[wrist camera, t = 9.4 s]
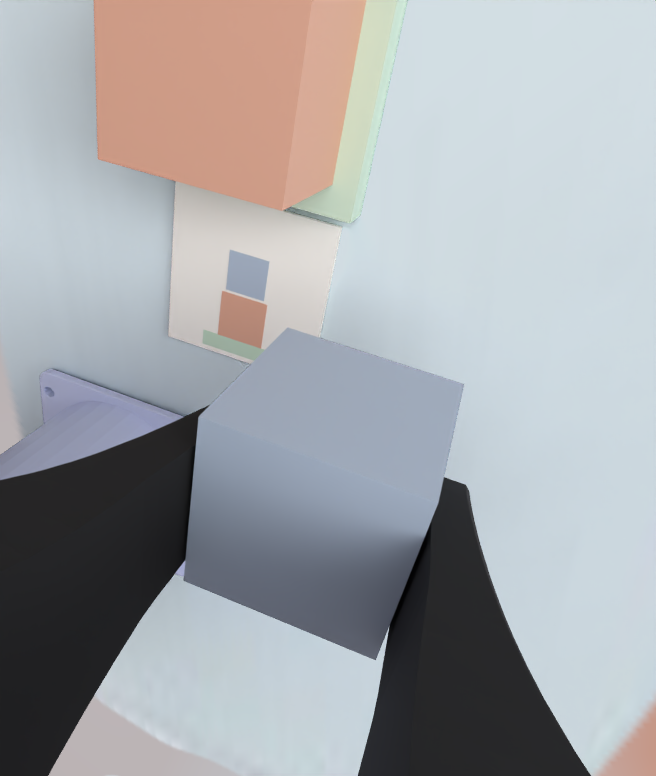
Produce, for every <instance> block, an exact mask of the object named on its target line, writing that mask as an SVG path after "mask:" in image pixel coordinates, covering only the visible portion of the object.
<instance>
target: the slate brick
mask: <svg viewBox="0 0 656 776" xmlns="http://www.w3.org/2000/svg"><path fill="white" fill-rule="evenodd" d="M463 387H464V384H462V383H459V382H456V381H452V380H449V379H446V378H443V377H440V376H437V375H434V374H431V373H428V372H424V371H421V370H418V369H415V368H412V367H409V366H406V365H403V364H400V363H397V362H393V361H390V360H387V359H384V358H381V357H378V356H375V355H372V354H369V353H366V352H362V351H359V350H356V349H353V348H350V347H347V346H344V345H341V344H338V343H334V342H331V341H328V340H325V339H322V338H319V337H316V336H313V335H310V334H307V333H303V332H300V331H297V330H294V329H291V328H288V327H287V328H286V329H285V330H284V331H283V332H282V333H281V334H280V335H279V336H278V337H277V338H276V339H275V340H274V341H273V342H272V343H271V344H270V345H269V346H268V347H267V348H266V349H265V350H264V351H263V352H262V353H261V354H260V355H259V356H258V357H257V358H256V359H255V360H254V361H253V362H252V363H251V364H250V365H249V366H248V367H247V368H246V370H245V371H244V372H243V373H242V374H241V375H240V376H239V377H238V378H237V379H236V380H235V381H234V382H233V383H232V384H231V385H230V386H229V387H228V388H227V389H226V390H225V391H224V392H223V393H222V394H221V395H220V396H219V397H218V398H217V399H216V400H215V401H214V402H213V403H212V404H211V405H210V406H209V407H208V408H207V409H206V410H205V411H204V412H203V413H202V414H201V415H200V416H199V418H198V429H197V439H196V450H195V461H194V472H193V483H192V494H191V505H190V516H189V526H188V537H187V548H186V559H185V570H184V581H186V582H188V583H191V584H193V585H195V586H198V587H200V588H203V589H205V590H208V591H210V592H212V593H215V594H217V595H220V596H222V597H224V598H227V599H229V600H232V601H234V602H236V603H239V604H241V605H244V606H246V607H249V608H251V609H253V610H256V611H258V612H261V613H263V614H265V615H268V616H270V617H273V618H275V619H278V620H280V621H282V622H285V623H287V624H290V625H292V626H294V627H297V628H299V629H302V630H304V631H306V632H309V633H311V634H314V635H316V636H319V637H321V638H323V639H326V640H328V641H331V642H333V643H335V644H338V645H340V646H343V647H345V648H347V649H350V650H352V651H355V652H357V653H360V654H362V655H364V656H367V657H369V658H372V659H374V660H376V658H377V655H378V653H379V650H380V648H381V645H382V643H383V640H384V638H385V635H386V633H387V630H388V628H389V625H390V623H391V620H392V618H393V615H394V613H395V610H396V608H397V605H398V603H399V600H400V598H401V595H402V593H403V590H404V588H405V585H406V583H407V580H408V578H409V575H410V573H411V570H412V568H413V565H414V563H415V560H416V558H417V555H418V553H419V550H420V548H421V545H422V543H423V540H424V538H425V535H426V533H427V530H428V528H429V525H430V523H431V520H432V518H433V515H434V512H435V510H436V507H437V505H438V502H439V497H440V493H441V488H442V484H443V479H444V474H445V470H446V465H447V461H448V456H449V451H450V447H451V442H452V438H453V433H454V428H455V424H456V419H457V415H458V410H459V405H460V401H461V396H462V391H463Z"/></svg>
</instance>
